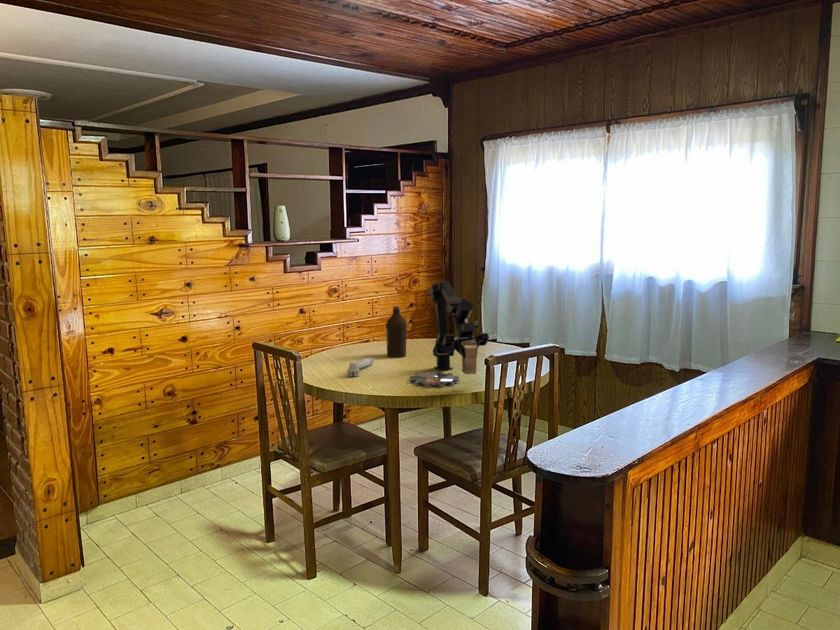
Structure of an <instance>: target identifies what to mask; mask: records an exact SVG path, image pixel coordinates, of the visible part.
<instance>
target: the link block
mask: <svg viewBox="0 0 840 630" xmlns="http://www.w3.org/2000/svg"><path fill="white" fill-rule="evenodd" d="M462 346H463V349H464V352H465V358H463V357H462V356H461V372H462V373H463V374H464V375H474V374H475V375H477V359H478V350H477V342H476V341H474V340H462Z"/></svg>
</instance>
